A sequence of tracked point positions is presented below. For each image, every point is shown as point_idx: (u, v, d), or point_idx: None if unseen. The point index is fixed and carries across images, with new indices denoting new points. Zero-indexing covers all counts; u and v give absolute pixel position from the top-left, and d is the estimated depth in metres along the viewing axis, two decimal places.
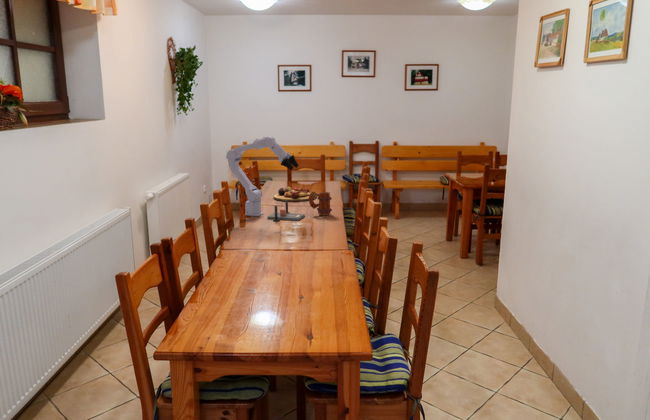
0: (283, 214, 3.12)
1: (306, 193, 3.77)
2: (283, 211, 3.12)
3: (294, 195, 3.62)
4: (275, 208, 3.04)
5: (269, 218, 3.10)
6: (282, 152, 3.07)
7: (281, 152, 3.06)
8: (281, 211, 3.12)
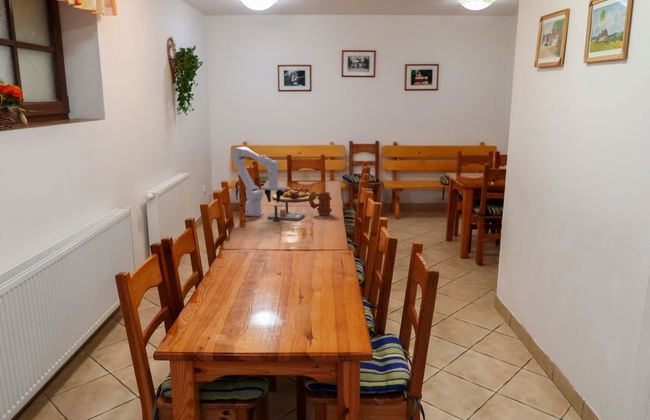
0: (283, 214, 3.12)
1: (305, 193, 3.77)
2: (283, 211, 3.12)
3: (293, 195, 3.62)
4: (275, 208, 3.04)
5: (269, 218, 3.10)
6: (269, 184, 3.10)
7: None
8: (281, 211, 3.12)
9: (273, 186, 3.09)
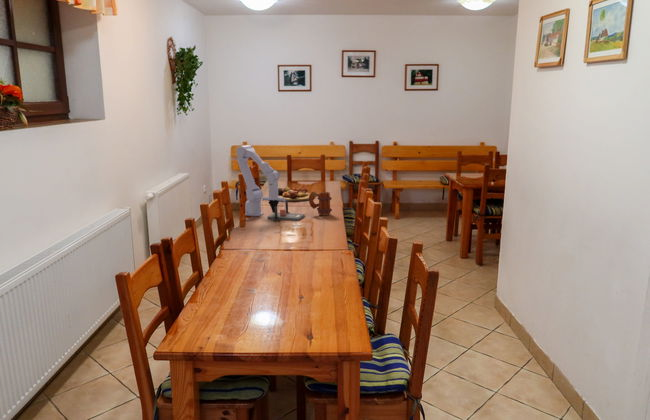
0: (283, 214, 3.12)
1: (304, 193, 3.77)
2: (283, 211, 3.12)
3: (292, 195, 3.62)
4: (275, 208, 3.04)
5: (269, 218, 3.10)
6: (269, 194, 3.11)
7: (269, 193, 3.12)
8: (281, 211, 3.12)
9: (273, 196, 3.10)
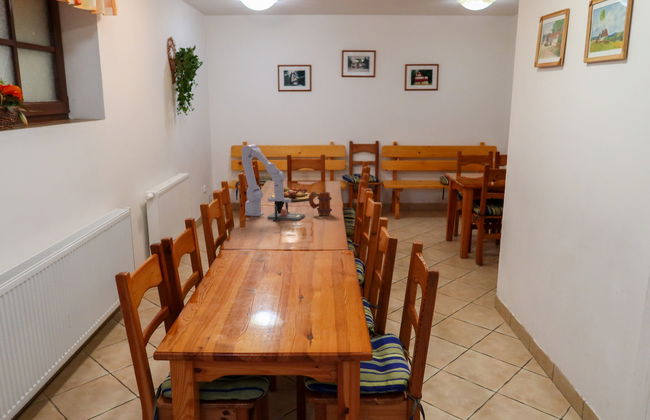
0: (284, 214, 3.12)
1: (304, 193, 3.77)
2: (284, 211, 3.12)
3: (292, 195, 3.62)
4: (275, 208, 3.04)
5: (269, 218, 3.10)
6: (275, 195, 3.10)
7: (274, 194, 3.11)
8: (282, 211, 3.12)
9: (279, 198, 3.10)
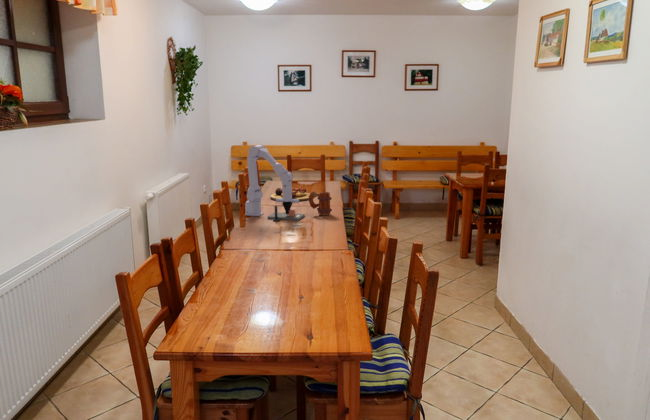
0: (292, 215, 3.11)
1: (303, 193, 3.77)
2: (292, 212, 3.10)
3: None
4: (275, 208, 3.04)
5: (269, 218, 3.10)
6: (283, 195, 3.09)
7: None
8: (290, 212, 3.10)
9: (287, 198, 3.08)
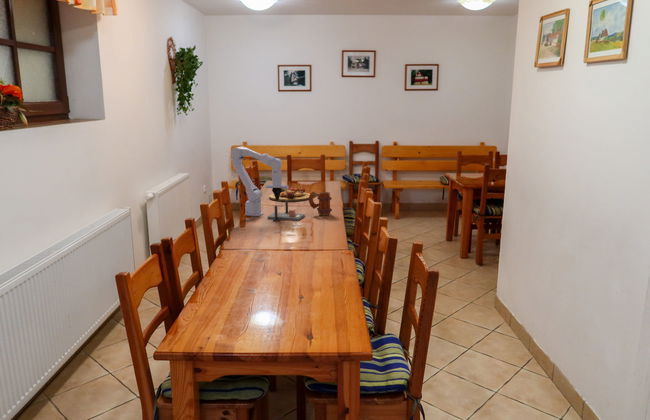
0: (292, 215, 3.11)
1: (302, 193, 3.77)
2: (292, 212, 3.10)
3: (289, 195, 3.62)
4: (275, 208, 3.04)
5: (269, 218, 3.10)
6: (272, 181, 3.13)
7: (272, 181, 3.13)
8: (290, 212, 3.10)
9: (277, 184, 3.12)
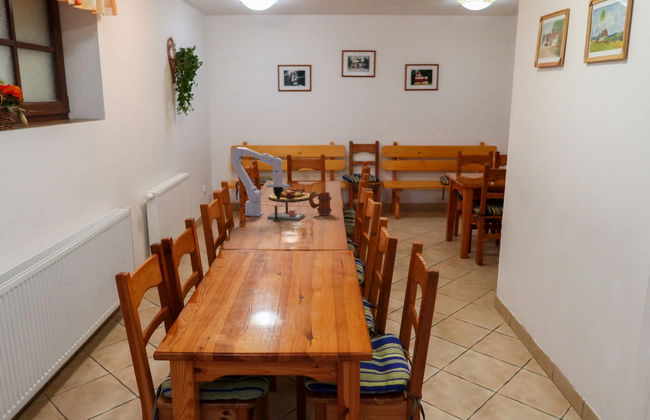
0: (292, 215, 3.11)
1: (301, 193, 3.77)
2: (292, 212, 3.10)
3: (289, 195, 3.62)
4: (275, 208, 3.04)
5: (269, 218, 3.10)
6: (273, 181, 3.14)
7: (273, 180, 3.15)
8: (290, 212, 3.10)
9: (278, 183, 3.13)
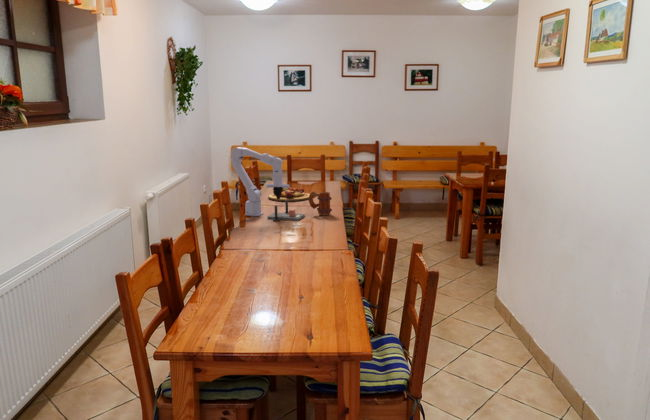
0: (292, 215, 3.11)
1: (301, 193, 3.77)
2: (292, 212, 3.10)
3: (288, 195, 3.62)
4: (275, 208, 3.04)
5: (269, 218, 3.10)
6: (273, 181, 3.14)
7: (273, 180, 3.15)
8: (290, 212, 3.10)
9: (278, 183, 3.13)
